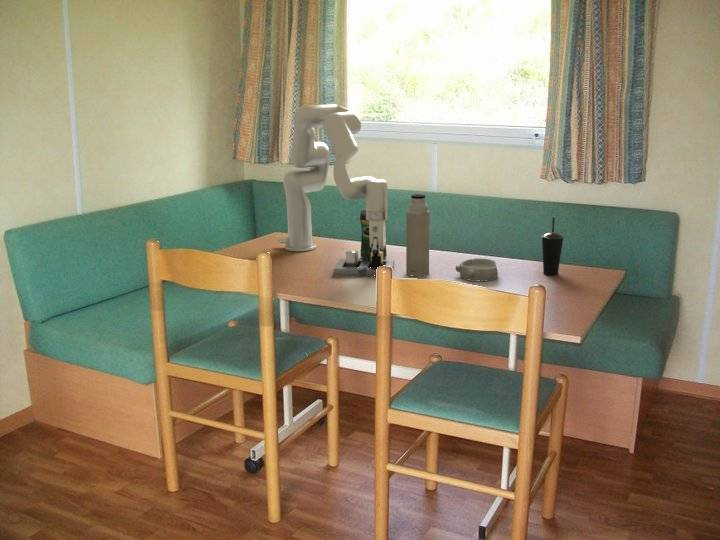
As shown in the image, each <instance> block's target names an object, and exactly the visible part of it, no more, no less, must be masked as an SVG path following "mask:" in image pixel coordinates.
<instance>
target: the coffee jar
mask: <svg viewBox="0 0 720 540" xmlns="http://www.w3.org/2000/svg"><path fill="white" fill-rule="evenodd" d="M359 216H360V217H359V223H360V226H361V240H360V257H361V259H371V252H372V248H370V238H369V221H368V220H366V209H363V210H361V211H360V214H359ZM386 222H387V220H385V224H386ZM382 251H383V260H385V259H386V257H387V243H386V244H385V247H384V248H383V249H382Z"/></svg>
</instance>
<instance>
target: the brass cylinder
mask: <svg viewBox="0 0 720 540" xmlns="http://www.w3.org/2000/svg"><path fill="white" fill-rule="evenodd" d="M371 256H372V252H371ZM380 256H381V266H383V260H384V259H383V252H382V251H380ZM371 268H377V267H372V266H371Z"/></svg>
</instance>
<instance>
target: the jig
mask: <svg viewBox="0 0 720 540" xmlns="http://www.w3.org/2000/svg"><path fill="white" fill-rule="evenodd" d="M383 265H385V266H390V267H392V268H393V270H394V269H395V259H383ZM358 267H359V268H356V267H346V258H339V259H338V262H337V263H336V264H335V267H333V277H365V276H374V275H375V276H376V269H377V268H370V267H371V259H365V258H358Z"/></svg>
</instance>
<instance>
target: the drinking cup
mask: <svg viewBox="0 0 720 540" xmlns="http://www.w3.org/2000/svg"><path fill="white" fill-rule="evenodd" d="M555 219H556V218H555V217H552V224H551V225H552V226H551V231H548V232H545V233H543V234H541V235H540V236H541V237H540V238H541V245H542V247H541V248H542V266H543V267H542V268H543V270H542V271H543V275H545V276H548V277H555V276H558V275H559V270H560V269H559V268H560V263H561V255H562V250H563V249H562V248H563V243H564V238H565V236H564V235H563V234H562V233H559V232H556V231H555Z"/></svg>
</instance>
